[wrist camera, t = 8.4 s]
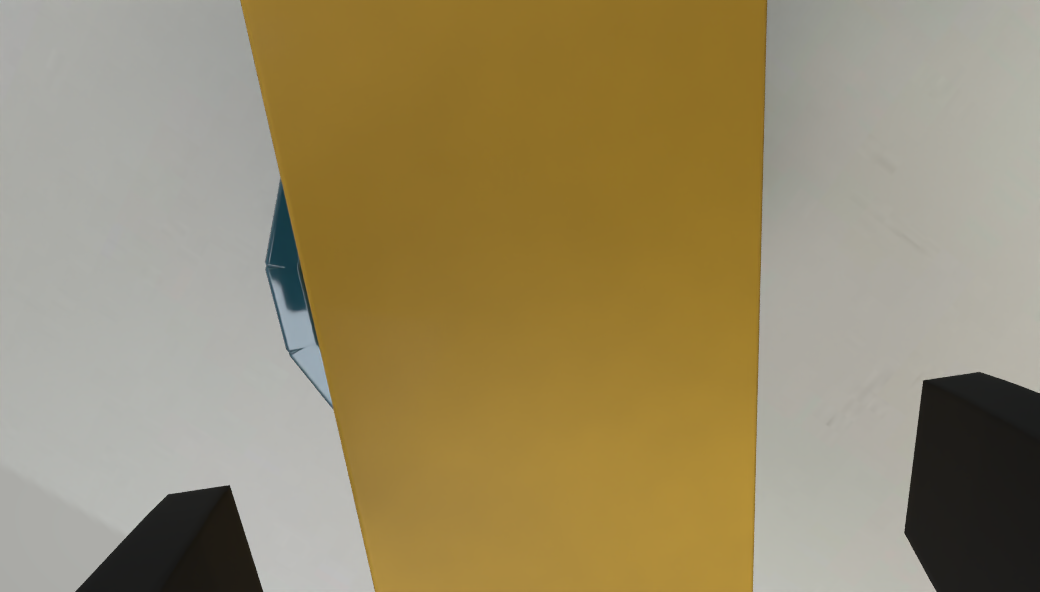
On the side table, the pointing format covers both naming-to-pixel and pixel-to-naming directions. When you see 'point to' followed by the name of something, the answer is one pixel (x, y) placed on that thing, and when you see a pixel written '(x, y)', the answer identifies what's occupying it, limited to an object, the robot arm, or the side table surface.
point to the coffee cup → (293, 298)
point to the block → (532, 279)
